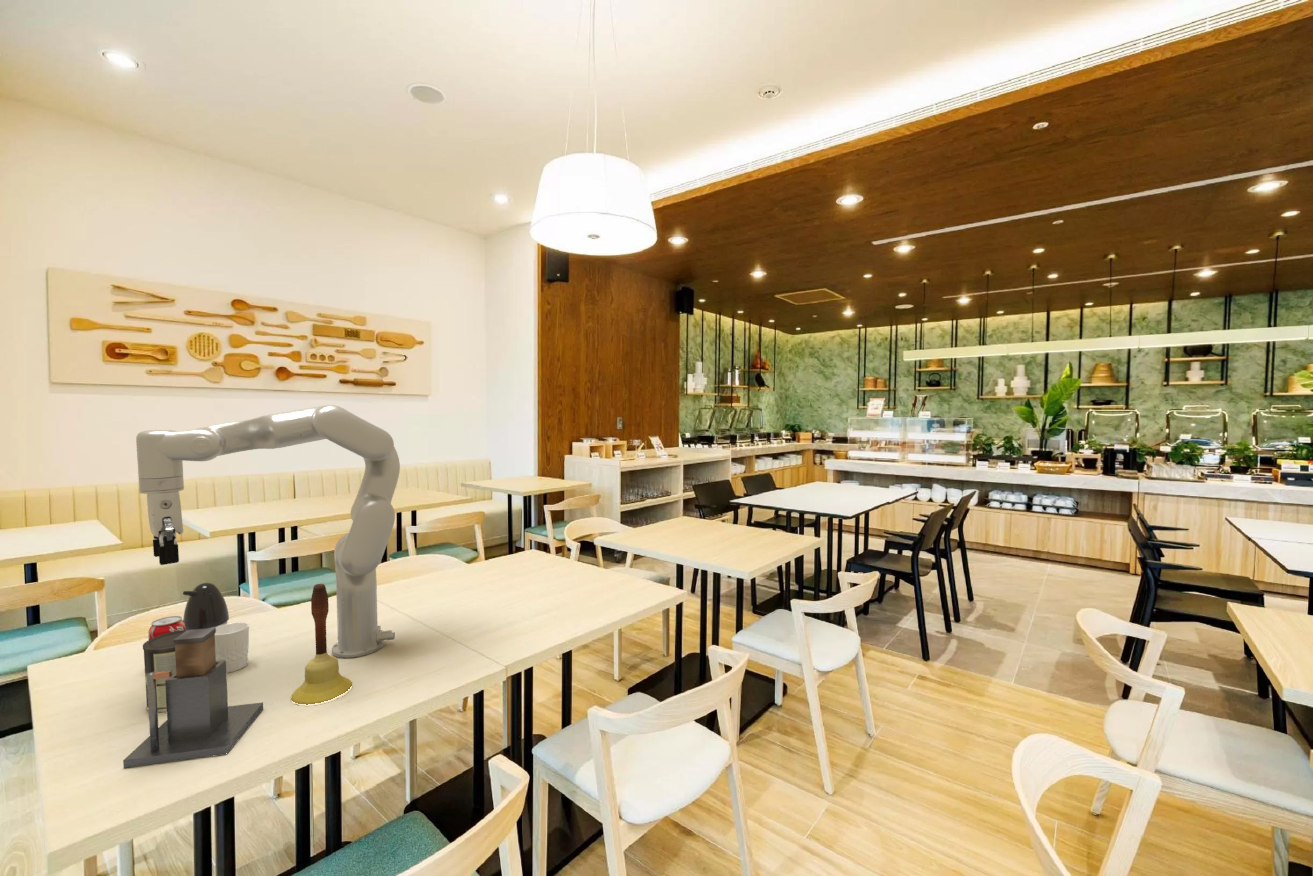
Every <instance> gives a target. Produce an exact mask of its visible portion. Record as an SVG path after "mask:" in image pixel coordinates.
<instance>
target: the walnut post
mask: <svg viewBox="0 0 1313 876" xmlns="http://www.w3.org/2000/svg"><path fill="white" fill-rule="evenodd" d="M215 633H216V628H208V629H196V630H187V631H186V632H184V633H183V634H181V635H180V636H178V637H177V638H176V639H174V640H173V644H174V645H175V656H176V677H177V678H178V677H187V676H197V675H205V674H207V673H208V672H209V671H210V670H211V669H212V668H213V667H215V666H216V654H215Z"/></svg>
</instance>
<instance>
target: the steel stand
mask: <svg viewBox="0 0 1313 876" xmlns="http://www.w3.org/2000/svg"><path fill="white" fill-rule="evenodd" d="M162 678H168V679H167V680H165V685H166V705H167V712H166V721H164V722H163V723H162V724H160V726H159V716H158V715H159V714H158V713H159V712H158V711H157V691H156V679H162ZM227 682H228V678H227V673H226V660H222V661H216V666H215V667H213V668H212V669H211V670H210V671H209V672H208V673H207V674H205V675H197V676H187V677H178V678H177V677H176V672H175V673H174V674H173V675H172V671H162V672H150V673H148V674H147V688H148V708H149V711H148V723H149V724H148V727H149V736H148V737H147V738H146V739H145V740H143V741H142V742H141V744H140V745H138V746H137V747H136V748H135V749H134V750H132V752H131V753H129V754H128V755H127V756H126V757H125V758H124V759H123V760H122V762H123V763H122V764H123V769H129V768H135V767H142V766H151V765H157V764H165V763H166V764H167V763H172V762H173V763H174V762H179V761H186V760H194V759H201V758H202V759H203V758H207V757H206V756H210V757H214V756H213V755H217V756H222V755H221V754H224V755H227V754H229V752H230V751H231V750H232V749H233V747H234V746H235V745H236V744H237V743H238V741H239V740H240V738H241V737H242V736H243V735H244V734H245V732H246V731H247V730H248V728H250V726H251V725H252V723H253V722H254V721H255V720H256V719H257V717H259V715H260V714H261V712H262V711H263V710H264V702H255V703H246V704H245V703H244V704H238V705H229V704H228V701H229V700H228V684H227ZM255 718H256V719H255ZM243 733H244V734H243ZM242 734H243V735H242ZM238 739H239V740H238ZM237 740H238V741H237ZM234 744H235V745H234ZM230 749H231V750H230ZM226 753H227V754H226Z"/></svg>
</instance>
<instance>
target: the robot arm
mask: <svg viewBox="0 0 1313 876" xmlns="http://www.w3.org/2000/svg"><path fill="white" fill-rule="evenodd" d="M135 439H136V440H135V442H136V443H135V444H136V458H137V475H138V492H139V494H145V495H146V502H147V503H146V505H147V517H148V524H149V530H150V532H151V533H152V536H153V539H152V546H153V547H152V549H153V557H155V558H156V557H157V558H158V560H159V561H158V562H159V565H160V566H164V565H171V564H176V563H179V562H180V556H179V555H180V554H179V544H178V540H177V534H178V535H182V534H183V533H184V527H183V526H184V525H183V515H182V505H181V498H180V496H181V495H180V492H181V491H184V490H185V486H184V485H185V484H184V464H183V462H184V461H186V462H207V461H211V460H213V459H215V458H217V457H220V456H224V455H229V454H235V453H239V452H245V451H246V452H247V451H253V450H260V449H261V450H262V449H263V450H266V449H267V450H272V449H273V450H274V449H282V448H286V447H291V446H297V445H302V444H305V443H312V442H317V441H323V440H328V441H330V442H332V443H333V444H335V445H337V446H339V447H341V448H343V449H345V450H347V451H350V452H352V454H353V453H354V454H355V455H357V456H359V457H362V459H363V461H364V464H365V465H364V467H365V469H364V472H363V476H362V480H361V483H360V486H359V489H358V491H357V494H356V495H355V496H356V497H355V499H354V501H353V504H352V507H351V508H350V509H351V510H350V518H351V521H352V523H351V527H350V529H349V531H348V533H345V534H344V535H342V536H341V537H340V538H339V539H338V541H337V542H336V544H335V545H334V546H335V547H334V553H333V558H334V567H335V582H336V583H335V584H336V585H335V586H336V616H337V617H336V618H337V621H336V623H337V624H336V625H337V642H336V643H335V644H334V645H332V646H331V650H330V651H331V654H332V656H334V657H335V658H341V659H342V658H343V659H346V658H347V659H348V658H350V657H351V658H358V657H363V656H366V655H369V654H372V653H374V651H375V652H376V650H377V651H378V650H380V649H381V648H383V646H384V645H385V641H390V640H391V641H393V640H395V638H396V632H395V631H394V632H393V630H392V629H390V630H389V629H388V630H383V629H382V626H381V625H378V623H379V622H378V597H377V596H378V595H377V594H378V593H377V591H378V590H377V589H378V588H377V587H378V585H377V581H378V580H377V567H379V565H380V563H381V561H382V559H383V556H384V554H385V552H386V551H385V550H386V548H387V545H388V543H389V539H390V536H391V533H392V531H393V529H394V528H393V527H394V524H395V520H396V519H395V518H396V511H395V508H394V506H393V505H392V500H393V497H394V494H395V490H396V487H397V484H398V480H399V478H400V471H401V465H400V458H399V454H398V452H397V449H396V447H395V442H394V438H393V437H392V436H391V434H390V433H389V432H387V431H386V430H385V429H382V428H381V427H379V426H376V425H375V424H373V423H371V422H369V421H367V420H365V419H363V418H361V417H360V416H357V415H356V414H354V413H352V412H350V411H348V410H347V409H345V408H343V407H341V406H339V405H335V404H333V405H332V404H329V405H328V404H327V405H320V406H315V407H314V406H313V407H309V408H302V409H297V410H290V411H285V412H284V411H283V412H278V413H270V414H267V415H262V416H259V417H255V418H251V419H245V420H241V421H234V422H229V423H228V422H227V423H222V424H217V425H216V424H215V425H210V426H209V425H208V426H204V427H199V428H195V429H190V430H181V431H177V430H172V429H154V430H153V429H152V430H142V431H140V432H138V433H137V435H136V438H135Z"/></svg>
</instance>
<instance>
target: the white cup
mask: <svg viewBox="0 0 1313 876" xmlns="http://www.w3.org/2000/svg"><path fill="white" fill-rule="evenodd" d="M249 640H250V624H249V623H248V622H243V621H240V622H239V621H238V622H231V623H227V624H225V625H221V626H218V627H216V633H215V654H216V661H222V660H226V674H228V673H232V672H235V671H239V670H241V669H243V668H245V667H246V666H247V665H248V661H249V660H248V658H249V655H248V654H249V647H250V646H249V645H250V643H249V642H250V641H249Z"/></svg>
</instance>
